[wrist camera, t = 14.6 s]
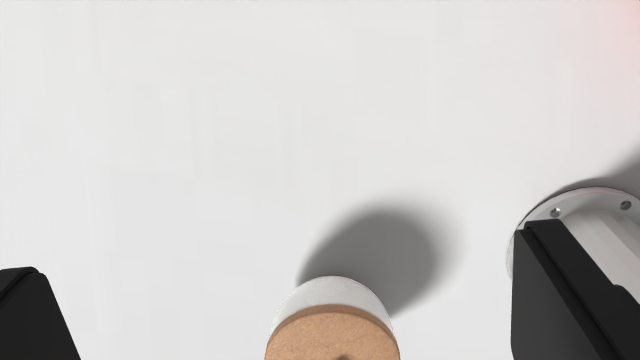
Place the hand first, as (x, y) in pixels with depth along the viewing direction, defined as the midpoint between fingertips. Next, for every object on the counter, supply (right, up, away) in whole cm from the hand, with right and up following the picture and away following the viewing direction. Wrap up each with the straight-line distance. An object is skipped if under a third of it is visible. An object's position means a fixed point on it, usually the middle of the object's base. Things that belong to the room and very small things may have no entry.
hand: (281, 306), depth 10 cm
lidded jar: (+2, -9, +37) cm, 38 cm away
